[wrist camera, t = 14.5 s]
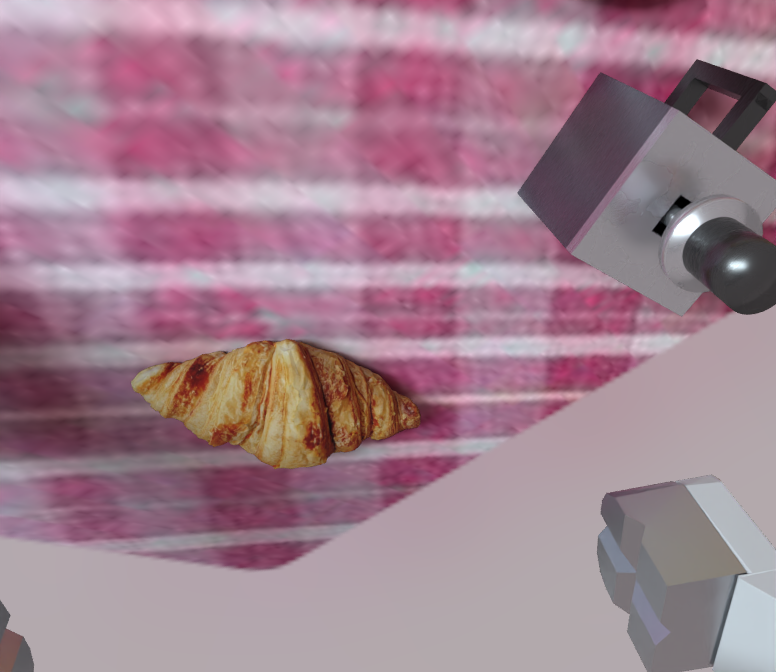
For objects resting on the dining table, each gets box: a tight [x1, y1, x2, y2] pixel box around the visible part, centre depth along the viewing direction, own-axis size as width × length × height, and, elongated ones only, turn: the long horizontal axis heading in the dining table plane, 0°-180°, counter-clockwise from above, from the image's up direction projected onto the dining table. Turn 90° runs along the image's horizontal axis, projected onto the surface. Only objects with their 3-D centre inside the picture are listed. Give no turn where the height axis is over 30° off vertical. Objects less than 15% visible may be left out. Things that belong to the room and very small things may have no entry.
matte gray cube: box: [518, 59, 776, 316], centre depth 42 cm, size 12×9×10 cm
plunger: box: [658, 194, 776, 315], centre depth 39 cm, size 5×5×15 cm
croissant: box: [131, 339, 421, 469], centre depth 50 cm, size 21×10×8 cm, turn 78°
